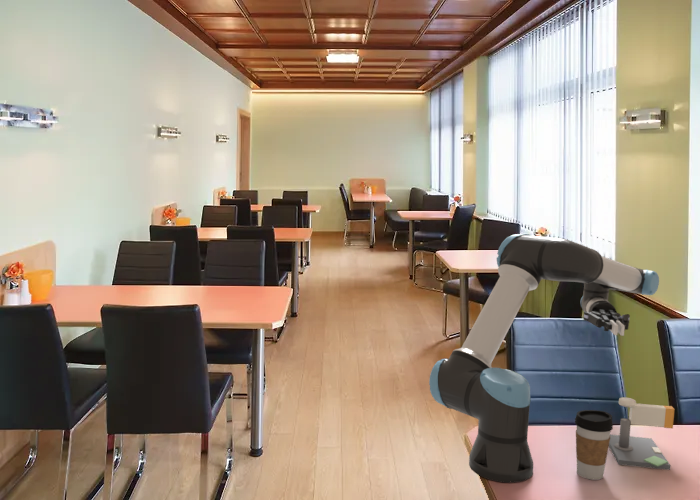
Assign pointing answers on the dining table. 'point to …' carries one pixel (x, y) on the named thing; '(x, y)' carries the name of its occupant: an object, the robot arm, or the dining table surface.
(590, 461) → the coffee cup
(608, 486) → the dining table surface
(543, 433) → the dining table surface
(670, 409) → the orange tipped swivel lever
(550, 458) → the dining table surface
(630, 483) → the dining table surface
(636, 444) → the tuner board
